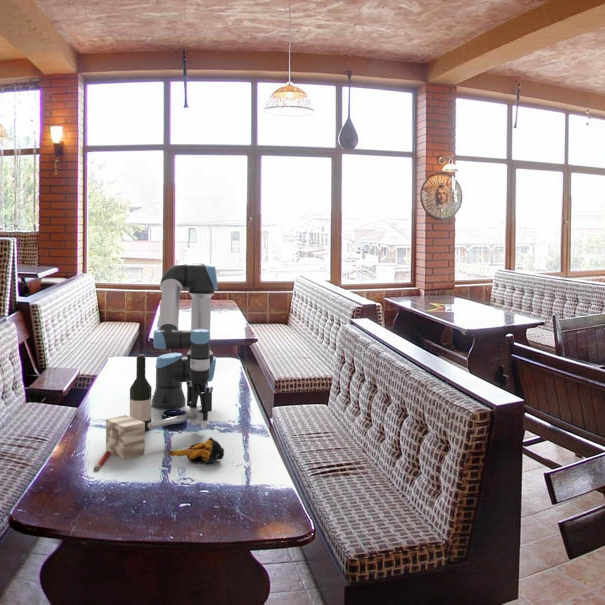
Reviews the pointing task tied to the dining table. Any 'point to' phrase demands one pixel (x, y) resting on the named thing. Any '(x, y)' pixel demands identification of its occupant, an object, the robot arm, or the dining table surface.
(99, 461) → the flare
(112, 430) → the eye block
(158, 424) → the pull pin
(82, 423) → the dining table surface
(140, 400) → the wine bottle
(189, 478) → the dining table surface
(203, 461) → the fried shrimp in bowl
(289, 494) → the dining table surface
